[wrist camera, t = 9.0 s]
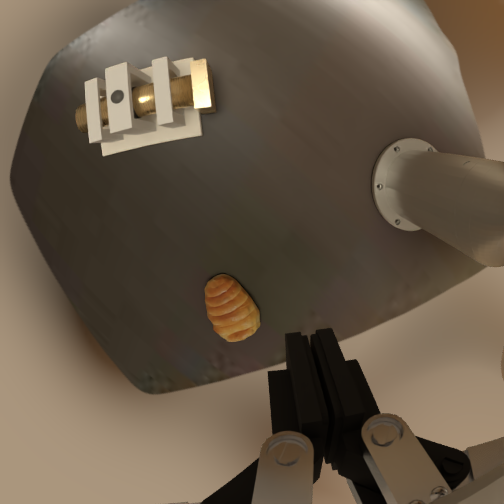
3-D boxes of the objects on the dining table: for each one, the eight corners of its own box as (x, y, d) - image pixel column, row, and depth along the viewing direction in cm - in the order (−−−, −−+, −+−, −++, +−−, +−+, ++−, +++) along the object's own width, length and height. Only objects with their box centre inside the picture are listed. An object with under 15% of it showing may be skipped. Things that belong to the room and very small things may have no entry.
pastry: (193, 281, 39) (188, 295, 36) (239, 264, 38) (238, 276, 35) (222, 334, 42) (220, 350, 39) (264, 320, 41) (266, 335, 38)
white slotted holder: (194, 59, 29) (178, 34, 20) (202, 135, 32) (187, 131, 24) (99, 85, 29) (62, 73, 21) (106, 155, 33) (68, 160, 24)
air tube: (211, 70, 28) (205, 58, 24) (216, 112, 30) (210, 106, 25) (91, 101, 29) (71, 96, 24) (95, 139, 30) (74, 139, 26)
